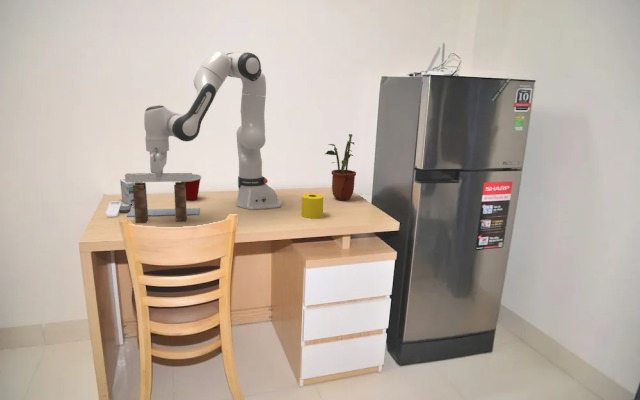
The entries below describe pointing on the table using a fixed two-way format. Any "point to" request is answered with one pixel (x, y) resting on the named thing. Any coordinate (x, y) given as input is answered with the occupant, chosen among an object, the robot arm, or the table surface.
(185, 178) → the rail
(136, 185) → the hook posts
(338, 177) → the potted plant
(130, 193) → the light bulb box
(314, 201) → the yellow hollow cylinder
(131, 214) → the slate mat
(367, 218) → the table surface
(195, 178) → the plastic cup
